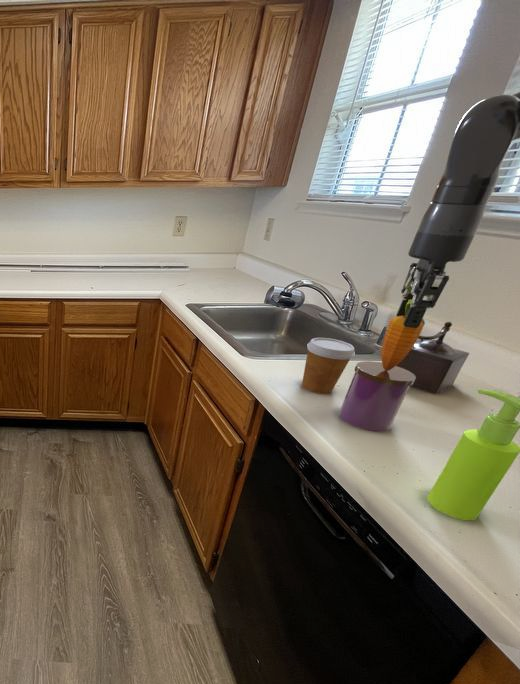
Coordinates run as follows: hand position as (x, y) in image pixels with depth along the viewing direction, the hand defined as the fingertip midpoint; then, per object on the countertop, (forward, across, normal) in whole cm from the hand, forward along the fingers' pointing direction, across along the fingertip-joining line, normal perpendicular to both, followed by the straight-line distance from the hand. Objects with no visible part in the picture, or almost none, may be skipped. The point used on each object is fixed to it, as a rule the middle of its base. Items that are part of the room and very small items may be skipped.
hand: (406, 322), depth 81 cm
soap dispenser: (+23, -25, -8) cm, 35 cm away
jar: (+23, 0, 0) cm, 23 cm away
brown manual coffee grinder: (+23, +29, -14) cm, 39 cm away
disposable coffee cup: (+23, +13, +8) cm, 27 cm away
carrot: (+11, 0, 0) cm, 11 cm away
